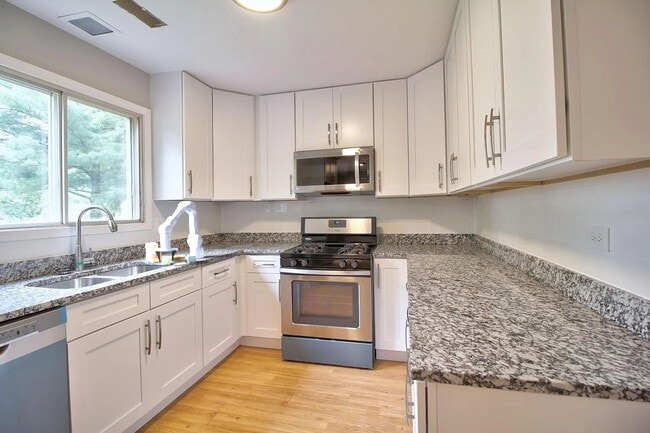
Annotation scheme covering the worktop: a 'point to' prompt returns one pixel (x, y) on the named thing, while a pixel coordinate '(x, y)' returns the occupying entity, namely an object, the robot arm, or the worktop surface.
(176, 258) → the walnut base block
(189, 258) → the dusty blue block
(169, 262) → the sage block
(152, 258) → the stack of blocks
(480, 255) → the worktop surface
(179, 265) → the plaque
